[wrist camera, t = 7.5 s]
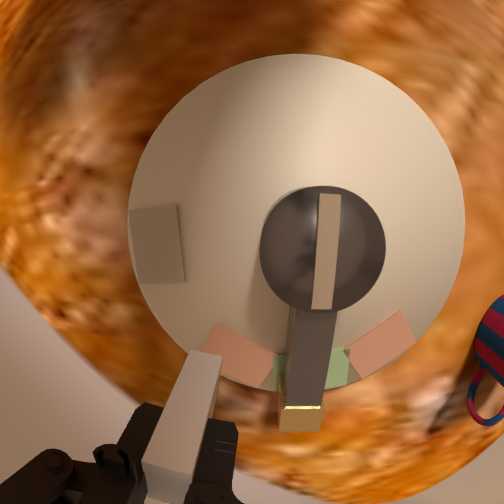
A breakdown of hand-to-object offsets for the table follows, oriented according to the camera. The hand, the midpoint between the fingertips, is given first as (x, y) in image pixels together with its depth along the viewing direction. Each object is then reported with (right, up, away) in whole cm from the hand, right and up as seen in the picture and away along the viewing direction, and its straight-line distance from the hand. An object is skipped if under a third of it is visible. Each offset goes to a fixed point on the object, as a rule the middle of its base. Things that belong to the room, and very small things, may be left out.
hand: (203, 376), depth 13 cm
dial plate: (+5, +7, +4) cm, 10 cm away
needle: (+5, +3, +3) cm, 7 cm away
